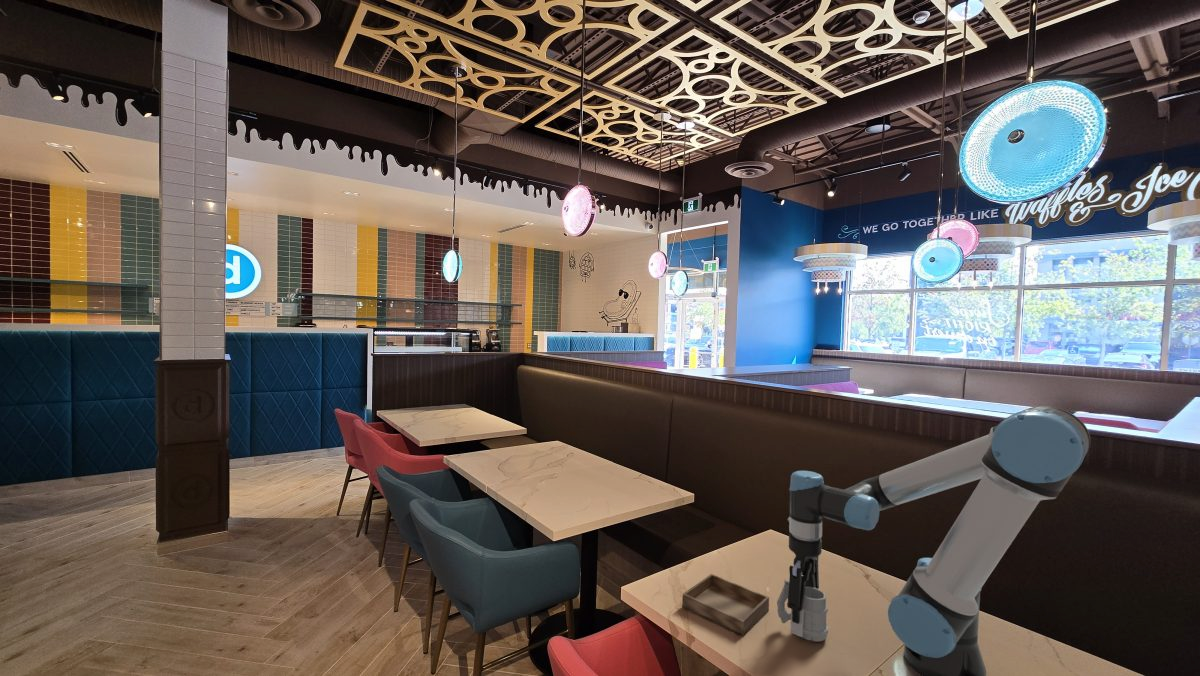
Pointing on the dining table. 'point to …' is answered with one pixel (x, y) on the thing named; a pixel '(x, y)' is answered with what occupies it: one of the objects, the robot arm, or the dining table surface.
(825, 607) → the mug
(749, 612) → the wooden tray
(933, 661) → the robot arm
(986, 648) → the dining table surface
